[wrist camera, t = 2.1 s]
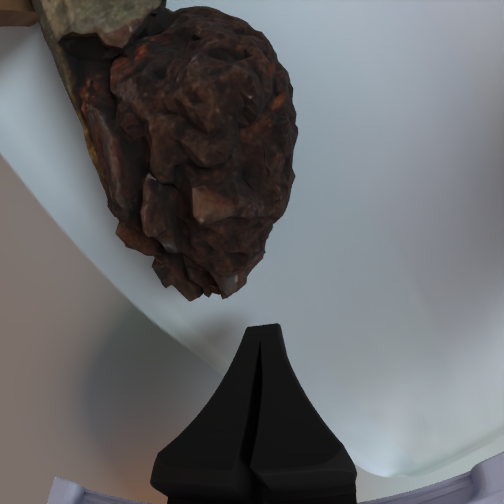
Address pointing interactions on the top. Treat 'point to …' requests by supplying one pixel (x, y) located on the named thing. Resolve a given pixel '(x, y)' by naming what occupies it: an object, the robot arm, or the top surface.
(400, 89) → the top surface
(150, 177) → the brown rock
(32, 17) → the corner fence
